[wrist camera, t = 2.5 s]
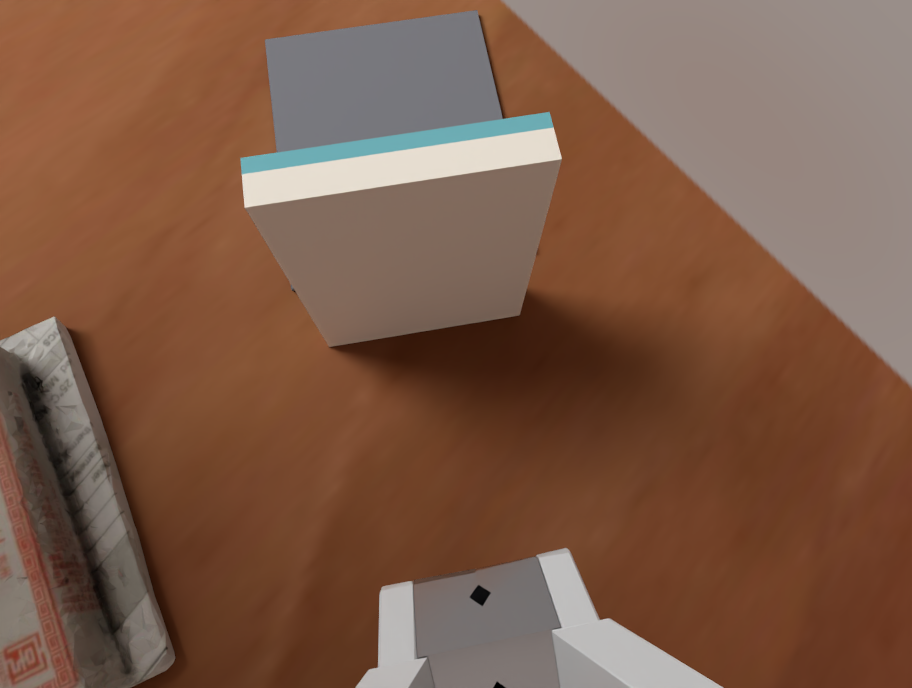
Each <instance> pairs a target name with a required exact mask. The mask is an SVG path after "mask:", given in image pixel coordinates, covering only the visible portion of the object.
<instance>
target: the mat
mask: <svg viewBox="0 0 912 688" xmlns="http://www.w3.org/2000/svg"><path fill="white" fill-rule="evenodd" d="M265 45H266V54H267V64H268V73H269V82H270V92H271V101H272V111H273V120H274V130H275V139H276V149H277V153H278V152H285V151H291V150H298V149H305V148H312V147H318V146H325V145H332V144H339V143H345V142H352V141H359V140H365V139H372V138H379V137H386V136H392V135H399V134H406V133H412V132H419V131H426V130H433V129H439V128H446V127H453V126H460V125H466V124H473V123H480V122H486V121H493V120H500V119H503V117H502V113H501V109H500V105H499V100H498V96H497V92H496V88H495V84H494V79H493V75H492V71H491V67H490V62H489V58H488V54H487V50H486V46H485V41H484V37H483V33H482V29H481V25H480V20H479V16H478V12H477V10H475V11H468V12H461V13H454V14H447V15H439V16H432V17H425V18H418V19H411V20H403V21H396V22H389V23H382V24H374V25H367V26H360V27H353V28H346V29H338V30H331V31H324V32H317V33H309V34H302V35H295V36H288V37H281V38H273V39H266V40H265ZM291 289H292V291H295V290H294V288H293V287H292V285H291Z"/></svg>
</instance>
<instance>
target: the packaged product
mask: <svg viewBox="0 0 912 688" xmlns="http://www.w3.org/2000/svg"><path fill="white" fill-rule="evenodd" d="M174 660H175V653H174V650H173V647H172V644H171V641H170V638H169V635H168V632H167V629H166V626H165V623H164V620H163V617H162V614H161V611H160V608H159V606H158V603H157V601H156V598H155V595H154V591H153V587H152V584H151V580H150V576H149V573H148V569H147V565H146V562H145V558H144V554H143V551H142V547H141V543H140V540H139V536H138V533H137V529H136V527H135V524H134V521H133V518H132V515H131V512H130V508H129V505H128V502H127V499H126V495H125V492H124V489H123V486H122V482H121V479H120V476H119V472H118V469H117V466H116V462H115V459H114V456H113V453H112V450H111V447H110V444H109V441H108V438H107V435H106V432H105V430H104V427H103V423H102V420H101V417H100V414H99V412H98V409H97V406H96V404H95V401H94V398H93V396H92V393H91V390H90V387H89V385H88V382H87V379H86V377H85V374H84V371H83V369H82V366H81V363H80V361H79V358H78V355H77V352H76V350H75V347H74V344H73V342H72V339H71V337H70V335H69V333H68V331H67V329H66V327H65V326H64V325H63V324H62V323H61V322H60V321H59V320H58V319H57V318H56V317H55V316H54V317H52V318H50V319H48V320H45V321H43V322H41V323H38V324H36V325H34V326H31V327H29V328H27V329H25V330H23V331H21V332H19V333H17V334H15V335H13V336H11V337H8V338H6V339H3V340H1V341H0V688H131V687H133V686H135V685H137V684H139V683H141V682H143V681H146V680H148V679H150V678H152V677H154V676H156V675H158V674H160V673H162V672H164V671H166V670H167V669H168V668H169V667H170V666H171V665H172V664H173V663H174Z"/></svg>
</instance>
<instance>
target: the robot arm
mask: <svg viewBox="0 0 912 688" xmlns="http://www.w3.org/2000/svg"><path fill="white" fill-rule="evenodd" d="M356 688H723V687H721V686H720V685H718V684H717V683H715V682H713V681H712V680H710V679H708V678H707V677H705V676H703V675H702V674H700V673H698V672H697V671H695V670H694V669H692V668H690V667H689V666H687V665H685V664H684V663H682V662H680V661H679V660H677V659H675V658H674V657H672V656H671V655H669V654H667V653H666V652H664V651H662V650H661V649H659V648H657V647H656V646H654V645H652V644H651V643H649V642H648V641H646V640H644V639H643V638H641V637H639V636H638V635H636V634H634V633H633V632H631V631H630V630H628V629H626V628H625V627H623V626H621V625H620V624H618V623H616V622H615V621H613V620H611V619H610V618H608V619H603V620H600V619H599V617H598V614H597V612H596V610H595V607H594V605H593V603H592V601H591V598H590V596H589V594H588V591H587V589H586V587H585V584H584V582H583V580H582V577H581V575H580V573H579V570H578V568H577V566H576V564H575V561H574V559H573V557H572V554H571V552H570V551H569V550H568V549H567V548H564V549H559V550H555V551H551V552H547V553H542V554H538V555H536V556H534V557H529V558H525V559H520V560H515V561H511V562H506V563H501V564H497V565H492V566H487V567H483V568H478V569H471V570H466V571H460V572H455V573H449V574H444V575H439V576H433V577H428V578H422V579H417V580H414V582H413V581H408V582H403V583H398V584H393V585H388V586H383V587H382V588H381V591H380V596H379V643H378V668H374V669H370V670H368V671H367V672H366V674H365V675H364V676H363V678H362V679H361V681H360V682H359V683H358V685H357V686H356Z"/></svg>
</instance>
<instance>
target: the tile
mask: <svg viewBox="0 0 912 688" xmlns="http://www.w3.org/2000/svg"><path fill="white" fill-rule="evenodd" d="M561 160H562V158H561V154H560V150H559V147H558V143H557V139H556V135H555V131H554V128H553V124H552V120H551V116H550V113H549V112H547V113H540V114H534V115H527V116H520V117H513V118H507V119H500V120H493V121H486V122H480V123H473V124H466V125H460V126H453V127H446V128H439V129H433V130H426V131H419V132H412V133H406V134H399V135H392V136H386V137H379V138H372V139H365V140H359V141H352V142H345V143H339V144H332V145H325V146H318V147H312V148H305V149H298V150H291V151H285V152H278V153H271V154H265V155H258V156H251V157H244V158H241V169H242V181H243V193H244V204H245V209H246V211H247V212H248V214H249V215H250V217H251V219H252V220H253V222H254V224H255V225H256V227H257V229H258V230H259V232H260V234H261V235H262V237H263V239H264V240H265V242H266V244H267V245H268V247H269V249H270V250H271V252H272V253H273V255H274V257H275V258H276V260H277V262H278V263H279V265H280V267H281V268H282V270H283V272H284V273H285V275H286V277H287V278H288V280H289V282H290V283H291V285H292V287H293V288H294V290H295V292H296V293H297V295H298V296H299V298H300V300H301V301H302V303H303V305H304V306H305V308H306V310H307V311H308V313H309V315H310V316H311V318H312V320H313V321H314V323H315V325H316V326H317V328H318V330H319V331H320V333H321V335H322V336H323V338H324V339H325V341H326V343H327V344H328V346H329V347H333V346H339V345H345V344H351V343H357V342H363V341H369V340H375V339H381V338H387V337H393V336H399V335H405V334H411V333H417V332H423V331H429V330H435V329H441V328H447V327H453V326H459V325H465V324H471V323H477V322H483V321H489V320H495V319H501V318H507V317H513V316H519V315H520V312H521V308H522V305H523V301H524V297H525V294H526V290H527V286H528V282H529V279H530V275H531V271H532V268H533V264H534V260H535V257H536V253H537V249H538V245H539V242H540V238H541V234H542V231H543V227H544V223H545V220H546V216H547V212H548V208H549V205H550V201H551V197H552V194H553V190H554V186H555V183H556V179H557V175H558V171H559V168H560V164H561Z"/></svg>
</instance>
